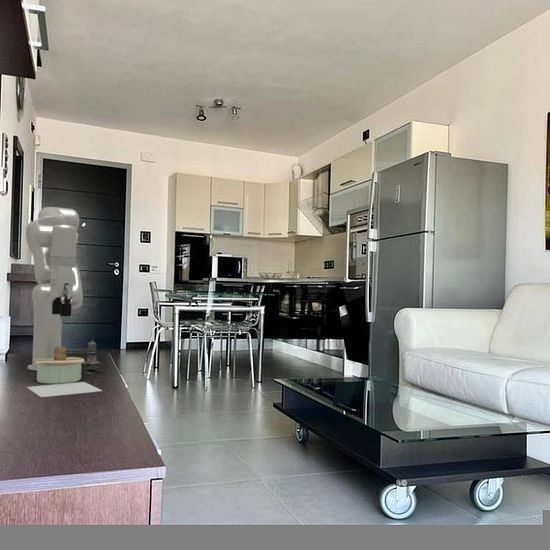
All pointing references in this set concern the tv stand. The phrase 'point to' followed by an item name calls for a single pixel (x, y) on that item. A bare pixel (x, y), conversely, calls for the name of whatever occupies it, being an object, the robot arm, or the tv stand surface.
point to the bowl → (58, 373)
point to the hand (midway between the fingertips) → (61, 315)
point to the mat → (63, 389)
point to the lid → (59, 359)
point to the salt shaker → (91, 359)
